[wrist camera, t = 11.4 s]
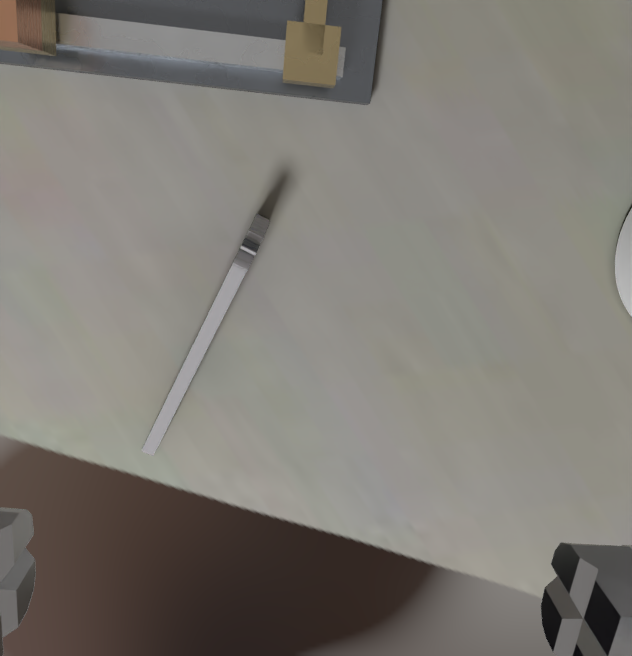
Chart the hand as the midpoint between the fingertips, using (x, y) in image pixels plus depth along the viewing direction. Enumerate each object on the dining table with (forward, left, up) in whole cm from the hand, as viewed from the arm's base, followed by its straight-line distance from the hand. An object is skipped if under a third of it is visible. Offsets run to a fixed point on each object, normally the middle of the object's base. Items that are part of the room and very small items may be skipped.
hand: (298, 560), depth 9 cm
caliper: (+6, +8, -34) cm, 35 cm away
